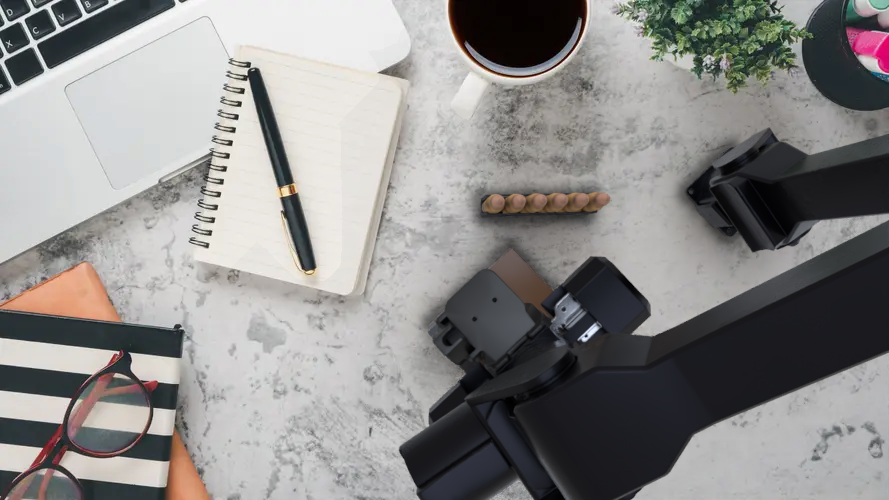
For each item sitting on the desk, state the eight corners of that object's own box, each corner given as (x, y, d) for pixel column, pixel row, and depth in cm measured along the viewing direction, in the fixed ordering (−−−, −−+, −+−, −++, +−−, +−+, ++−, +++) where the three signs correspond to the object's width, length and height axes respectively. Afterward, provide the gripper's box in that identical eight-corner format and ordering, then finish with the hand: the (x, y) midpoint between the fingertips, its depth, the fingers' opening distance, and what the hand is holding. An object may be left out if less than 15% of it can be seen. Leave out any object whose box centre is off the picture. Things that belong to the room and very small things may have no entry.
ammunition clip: (588, 196, 65) (619, 186, 53) (588, 214, 65) (619, 209, 53) (480, 198, 65) (487, 188, 53) (481, 216, 65) (488, 211, 53)
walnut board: (509, 247, 65) (516, 248, 59) (606, 349, 65) (623, 361, 59) (429, 323, 65) (427, 332, 59) (526, 424, 65) (534, 444, 59)
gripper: (570, 199, 43) (539, 209, 59) (367, 392, 44) (389, 351, 59) (686, 320, 43) (624, 299, 59) (482, 512, 44) (474, 440, 59)
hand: (525, 345), depth 59 cm, fingers closed on milkshake, 5 cm apart
